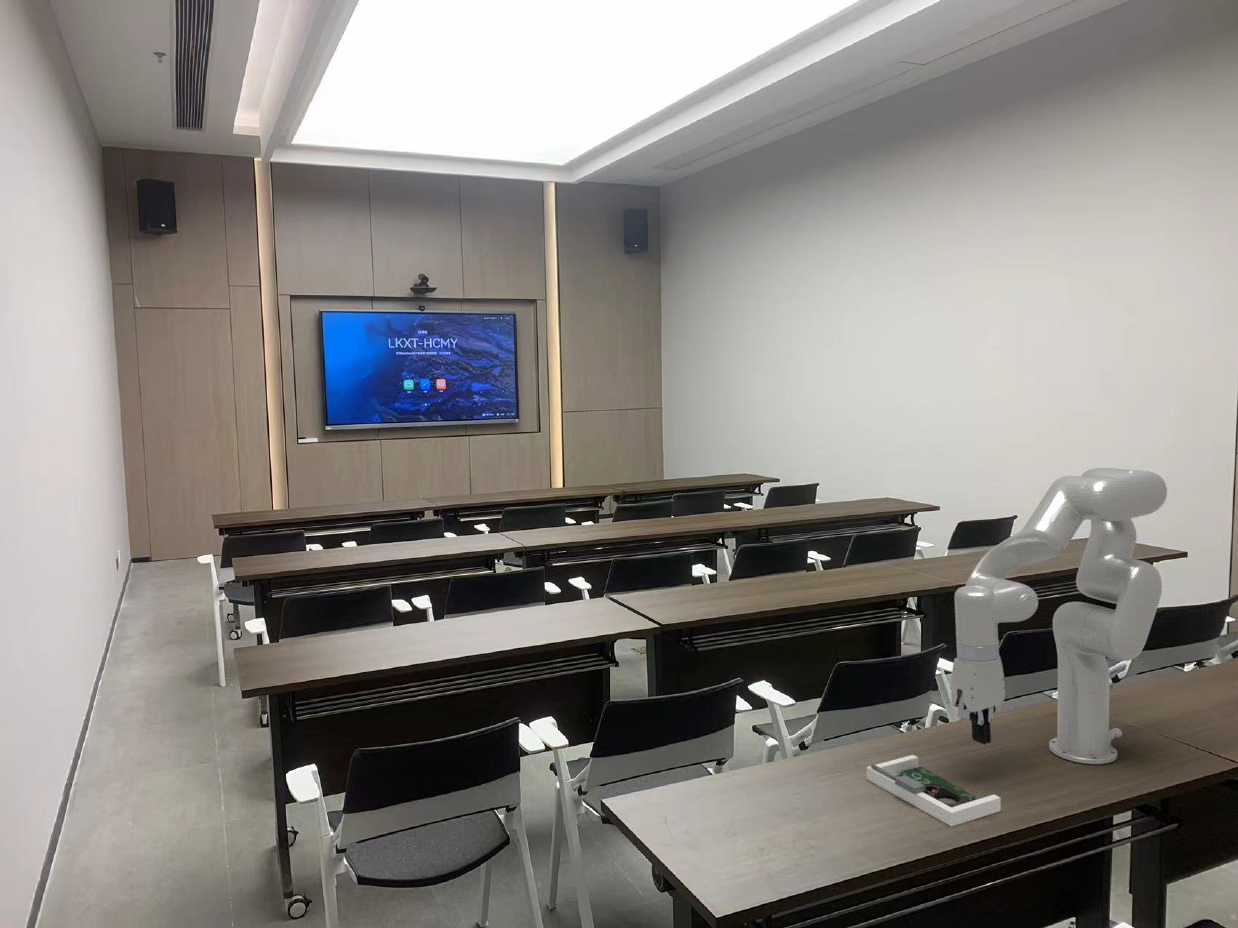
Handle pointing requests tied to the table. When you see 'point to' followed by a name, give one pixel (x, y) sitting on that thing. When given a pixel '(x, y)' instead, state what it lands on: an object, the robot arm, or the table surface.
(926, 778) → the gun
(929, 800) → the white angled bar
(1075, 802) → the table surface
